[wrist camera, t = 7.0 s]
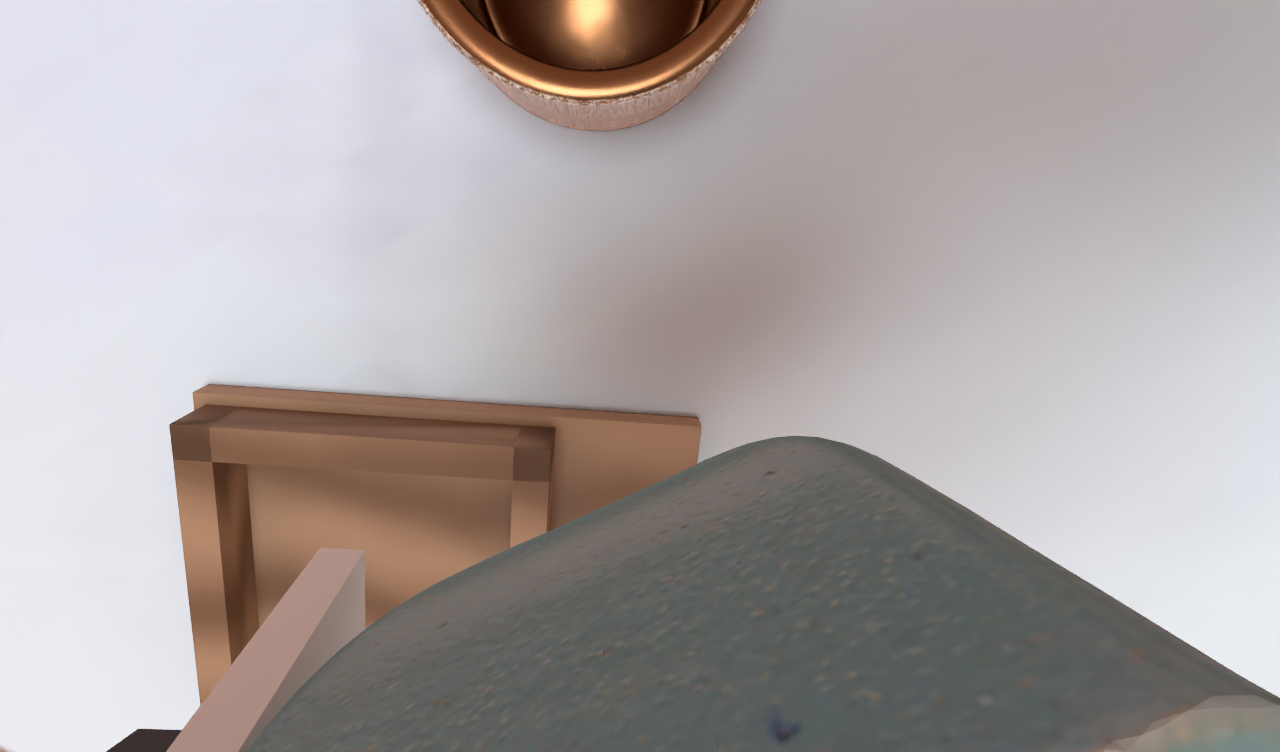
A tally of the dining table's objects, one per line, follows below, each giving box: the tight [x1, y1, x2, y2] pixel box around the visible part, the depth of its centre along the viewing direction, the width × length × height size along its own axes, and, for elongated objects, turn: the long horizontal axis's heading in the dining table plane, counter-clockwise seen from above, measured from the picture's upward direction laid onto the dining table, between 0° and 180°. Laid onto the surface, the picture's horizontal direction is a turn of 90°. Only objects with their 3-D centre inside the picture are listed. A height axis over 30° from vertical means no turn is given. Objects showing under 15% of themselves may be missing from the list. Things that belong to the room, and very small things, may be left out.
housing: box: [170, 384, 701, 705], centre depth 32 cm, size 21×22×4 cm
